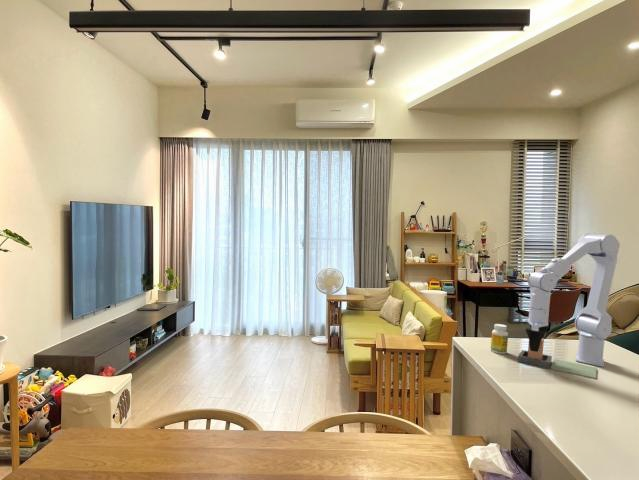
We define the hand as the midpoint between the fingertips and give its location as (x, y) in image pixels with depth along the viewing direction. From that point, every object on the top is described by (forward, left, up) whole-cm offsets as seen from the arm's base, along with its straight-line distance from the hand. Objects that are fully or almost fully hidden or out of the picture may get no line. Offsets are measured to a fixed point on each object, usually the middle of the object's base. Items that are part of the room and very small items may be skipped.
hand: (535, 348), depth 134 cm
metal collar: (0, 0, -5) cm, 5 cm away
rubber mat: (-2, +11, -5) cm, 12 cm away
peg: (0, 0, -5) cm, 5 cm away
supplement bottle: (-3, -12, -5) cm, 13 cm away
